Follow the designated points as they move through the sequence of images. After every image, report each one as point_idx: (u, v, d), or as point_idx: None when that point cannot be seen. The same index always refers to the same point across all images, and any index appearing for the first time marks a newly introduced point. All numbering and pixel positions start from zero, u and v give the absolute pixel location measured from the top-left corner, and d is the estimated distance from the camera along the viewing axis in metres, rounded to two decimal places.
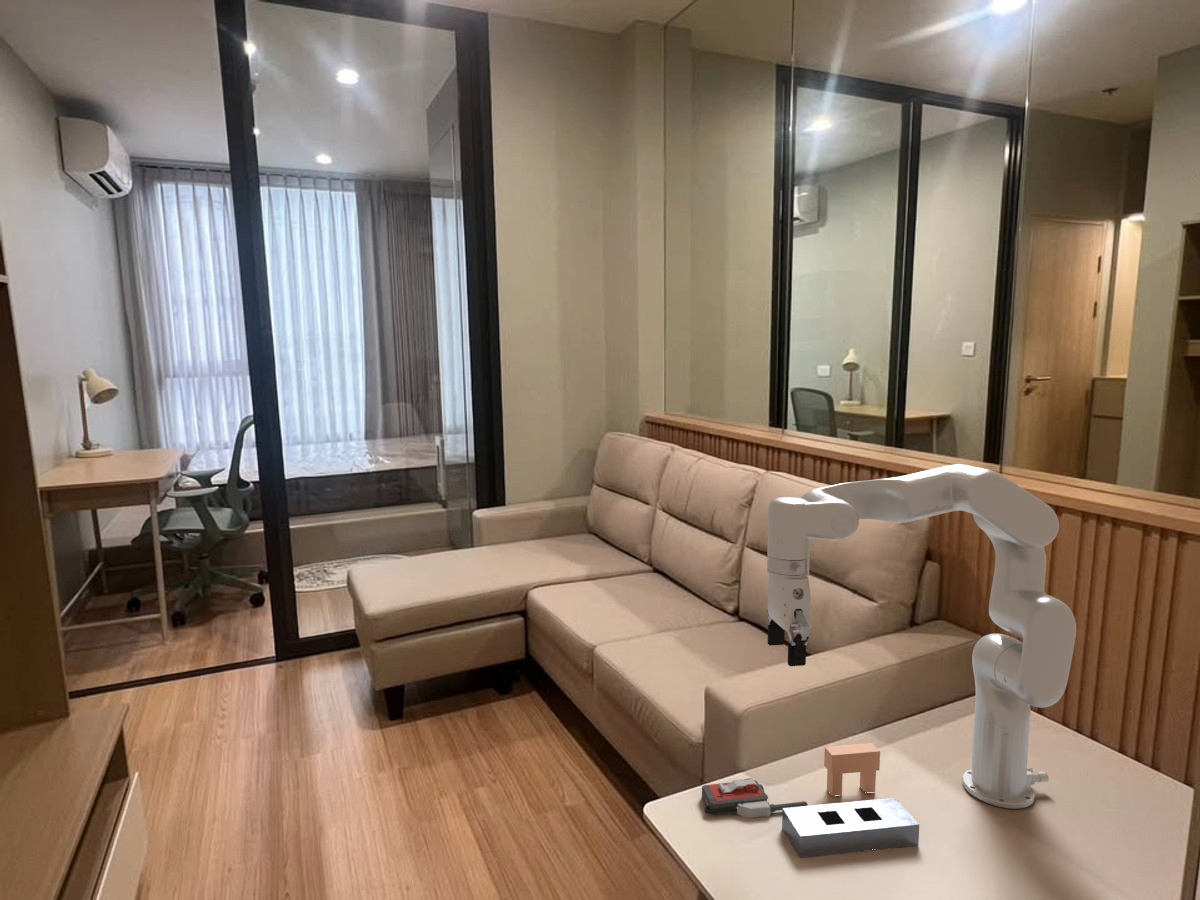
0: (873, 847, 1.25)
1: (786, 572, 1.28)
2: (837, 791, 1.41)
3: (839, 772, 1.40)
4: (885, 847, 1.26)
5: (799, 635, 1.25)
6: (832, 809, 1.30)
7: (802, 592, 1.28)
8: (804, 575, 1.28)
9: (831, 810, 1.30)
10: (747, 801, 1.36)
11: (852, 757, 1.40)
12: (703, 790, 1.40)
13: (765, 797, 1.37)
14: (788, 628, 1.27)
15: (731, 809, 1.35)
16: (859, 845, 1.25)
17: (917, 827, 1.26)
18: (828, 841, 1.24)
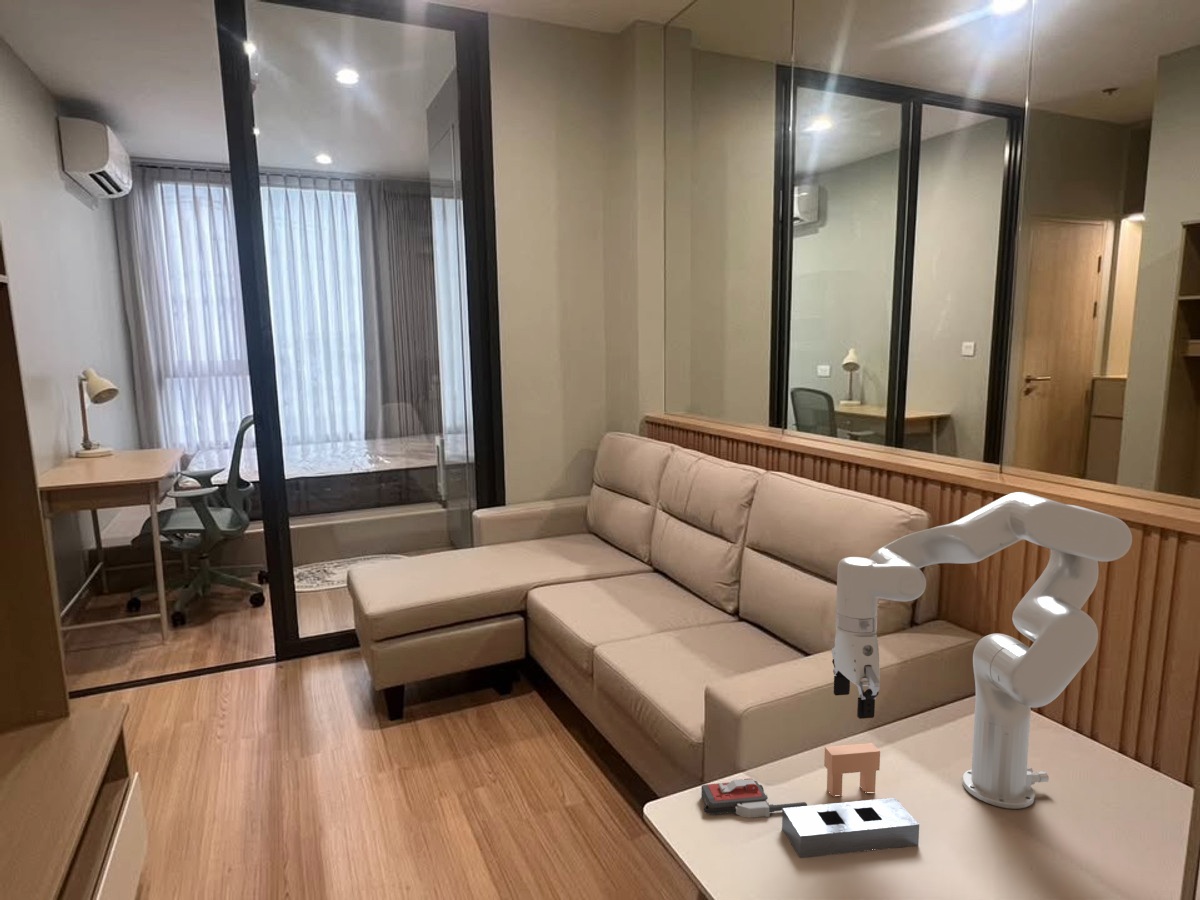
0: (873, 847, 1.25)
1: (856, 630, 1.35)
2: (837, 791, 1.41)
3: (839, 772, 1.40)
4: (885, 847, 1.26)
5: (870, 690, 1.33)
6: (832, 809, 1.30)
7: (871, 649, 1.35)
8: (873, 632, 1.36)
9: (831, 810, 1.30)
10: (746, 801, 1.36)
11: (852, 757, 1.40)
12: (703, 789, 1.40)
13: (764, 797, 1.37)
14: (858, 683, 1.35)
15: (730, 809, 1.36)
16: (859, 845, 1.25)
17: (917, 827, 1.26)
18: (828, 841, 1.24)
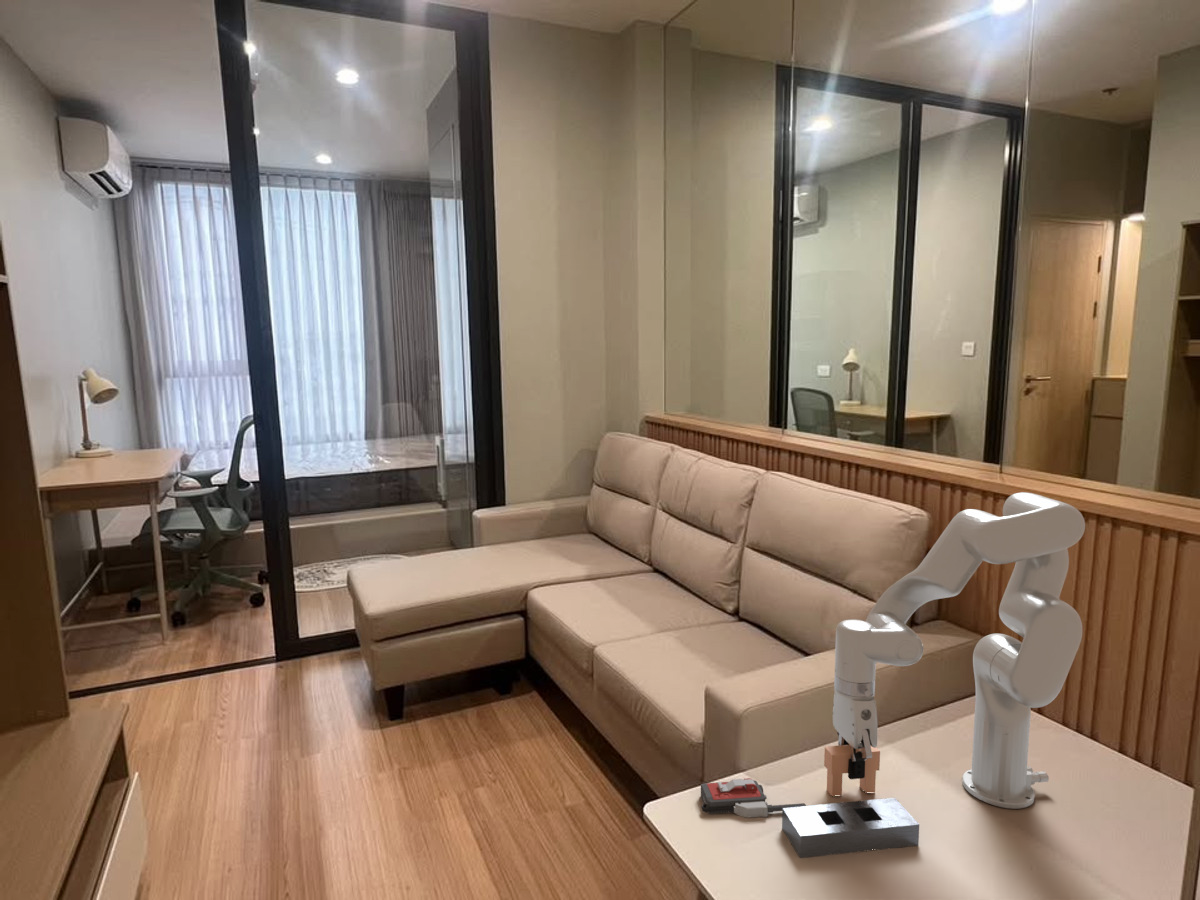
0: (873, 847, 1.25)
1: (854, 694, 1.37)
2: (837, 791, 1.41)
3: (839, 772, 1.40)
4: (885, 847, 1.26)
5: (860, 753, 1.37)
6: (832, 809, 1.30)
7: (869, 712, 1.37)
8: (871, 696, 1.37)
9: (831, 810, 1.30)
10: (745, 801, 1.36)
11: None
12: (702, 788, 1.40)
13: (763, 797, 1.37)
14: (856, 746, 1.36)
15: (728, 808, 1.36)
16: (859, 845, 1.25)
17: (917, 827, 1.26)
18: (828, 841, 1.24)
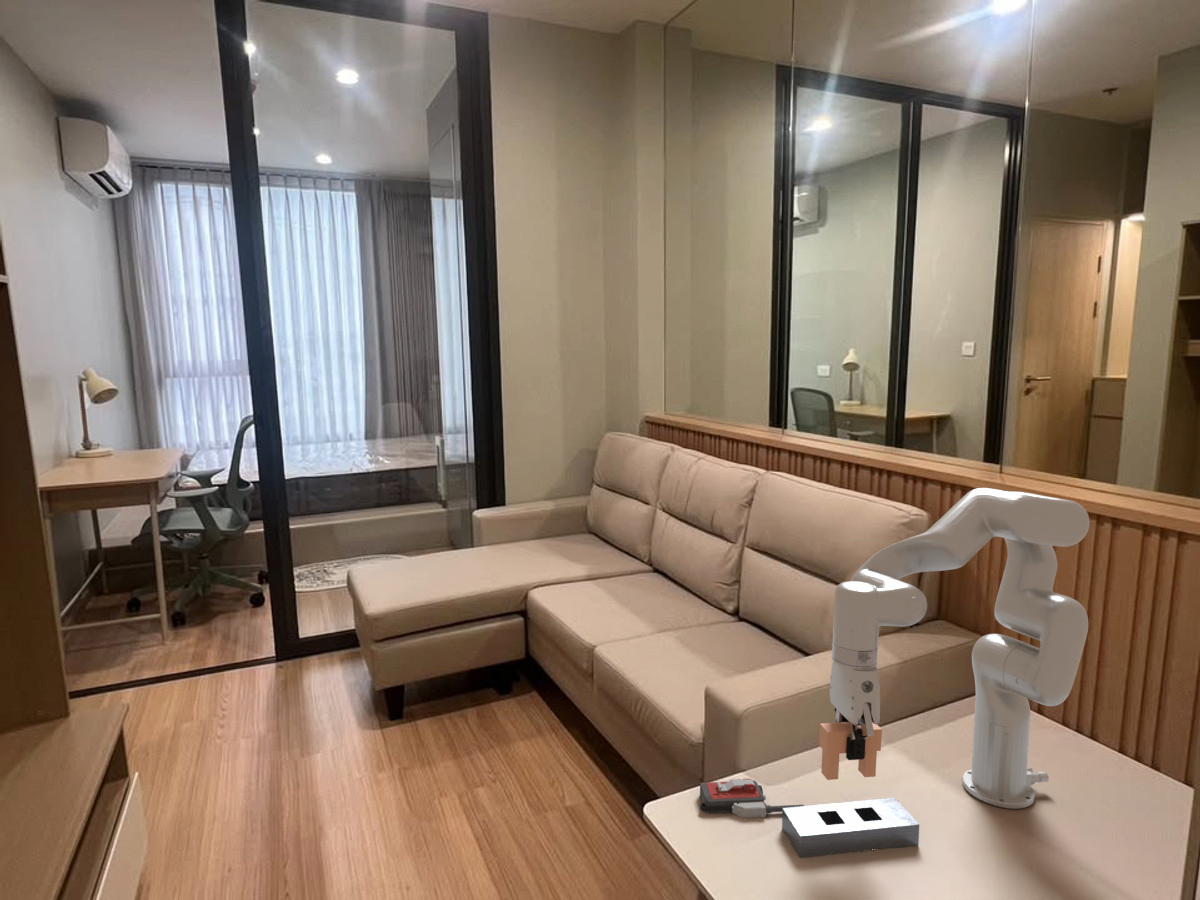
0: (873, 847, 1.25)
1: (854, 663, 1.22)
2: (833, 773, 1.26)
3: (836, 752, 1.25)
4: (885, 847, 1.26)
5: (860, 730, 1.22)
6: (832, 809, 1.30)
7: (871, 684, 1.21)
8: (873, 666, 1.22)
9: (831, 810, 1.30)
10: (743, 801, 1.36)
11: None
12: (701, 787, 1.41)
13: (762, 798, 1.37)
14: (856, 722, 1.21)
15: (726, 808, 1.36)
16: (859, 845, 1.25)
17: (917, 827, 1.26)
18: (828, 841, 1.24)
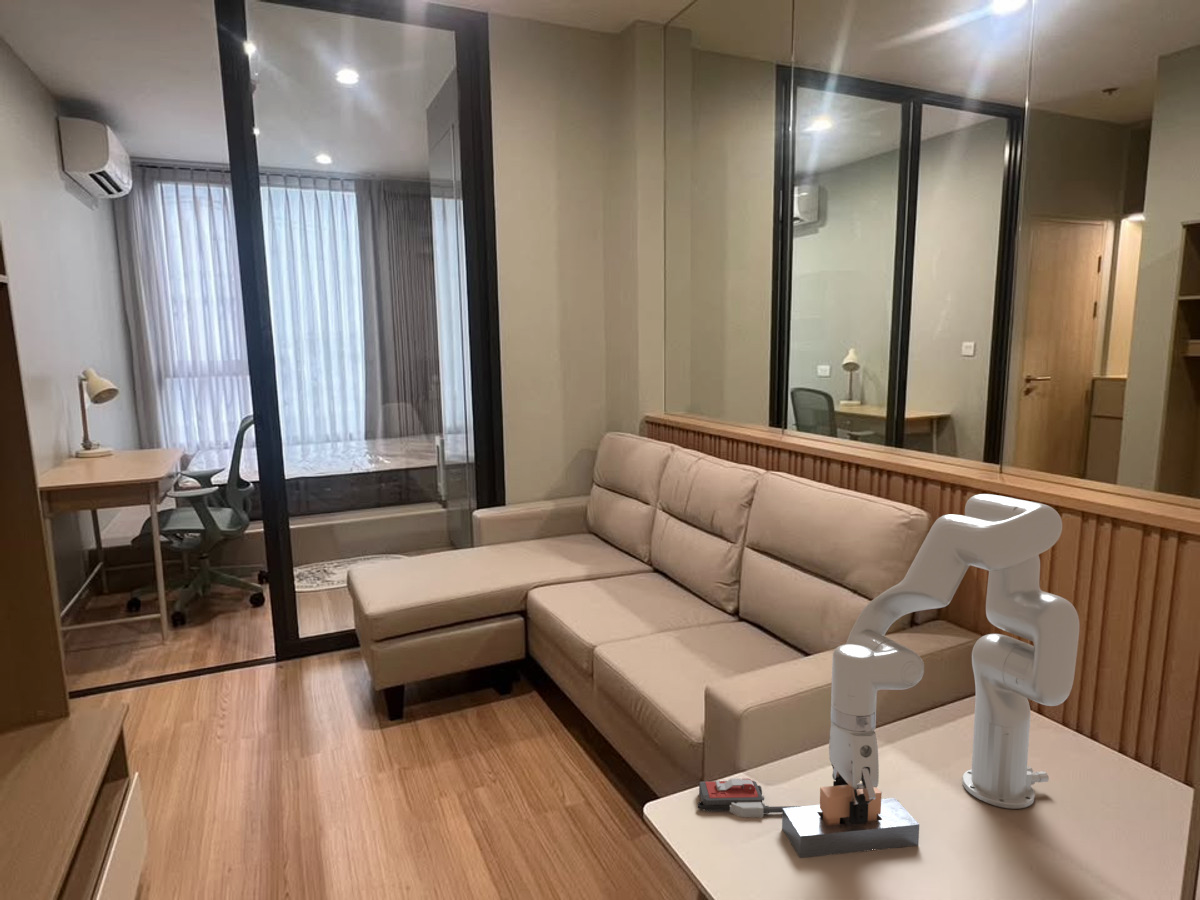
0: (873, 847, 1.25)
1: (853, 728, 1.23)
2: None
3: (836, 816, 1.26)
4: (885, 847, 1.26)
5: (862, 796, 1.22)
6: None
7: (869, 749, 1.23)
8: (871, 730, 1.23)
9: None
10: (741, 800, 1.37)
11: (850, 799, 1.26)
12: (700, 786, 1.41)
13: (760, 798, 1.37)
14: (855, 786, 1.23)
15: (724, 807, 1.36)
16: (859, 845, 1.25)
17: (917, 827, 1.26)
18: (828, 841, 1.24)
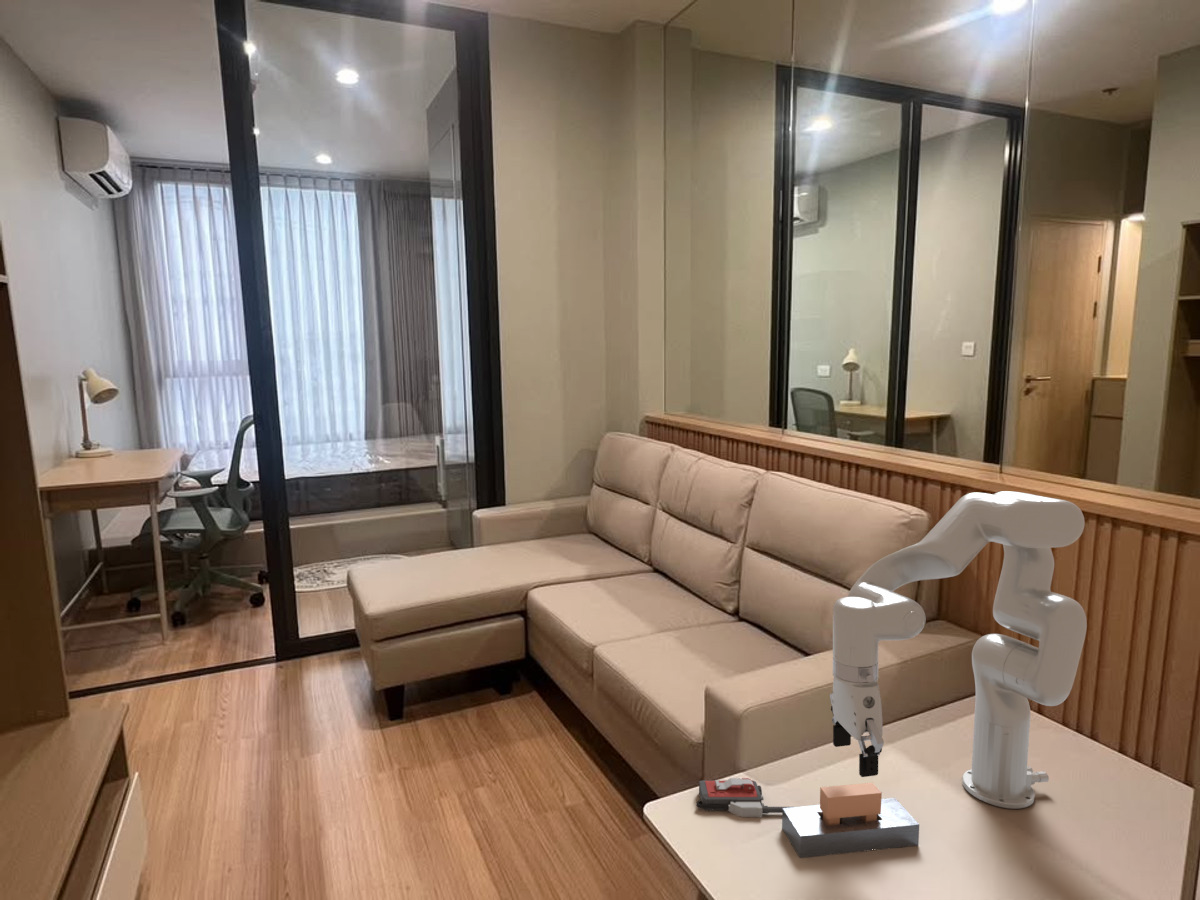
0: (873, 847, 1.25)
1: (855, 679, 1.22)
2: None
3: (836, 817, 1.26)
4: (885, 847, 1.26)
5: (872, 747, 1.19)
6: None
7: (872, 700, 1.22)
8: (874, 681, 1.23)
9: None
10: (740, 800, 1.37)
11: (850, 799, 1.26)
12: (699, 785, 1.41)
13: (759, 798, 1.37)
14: (859, 738, 1.22)
15: (723, 806, 1.36)
16: (859, 845, 1.25)
17: (917, 827, 1.26)
18: (828, 841, 1.24)
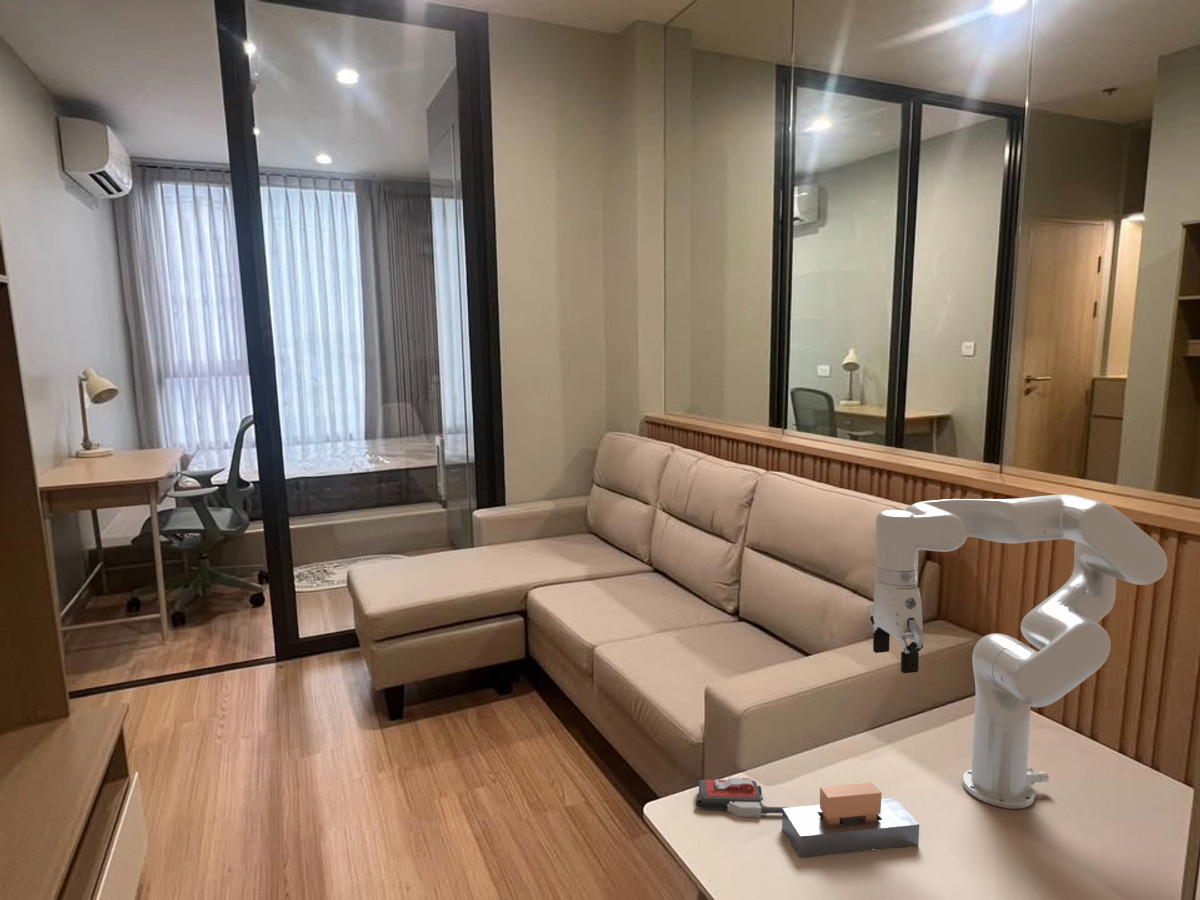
0: (873, 847, 1.25)
1: (898, 583, 1.33)
2: None
3: (836, 816, 1.26)
4: (885, 847, 1.26)
5: (914, 643, 1.30)
6: None
7: (913, 601, 1.32)
8: (914, 585, 1.33)
9: None
10: (739, 800, 1.37)
11: (850, 799, 1.26)
12: (699, 784, 1.42)
13: (759, 798, 1.37)
14: (901, 637, 1.32)
15: (722, 806, 1.36)
16: (859, 845, 1.25)
17: (917, 827, 1.26)
18: (828, 841, 1.24)
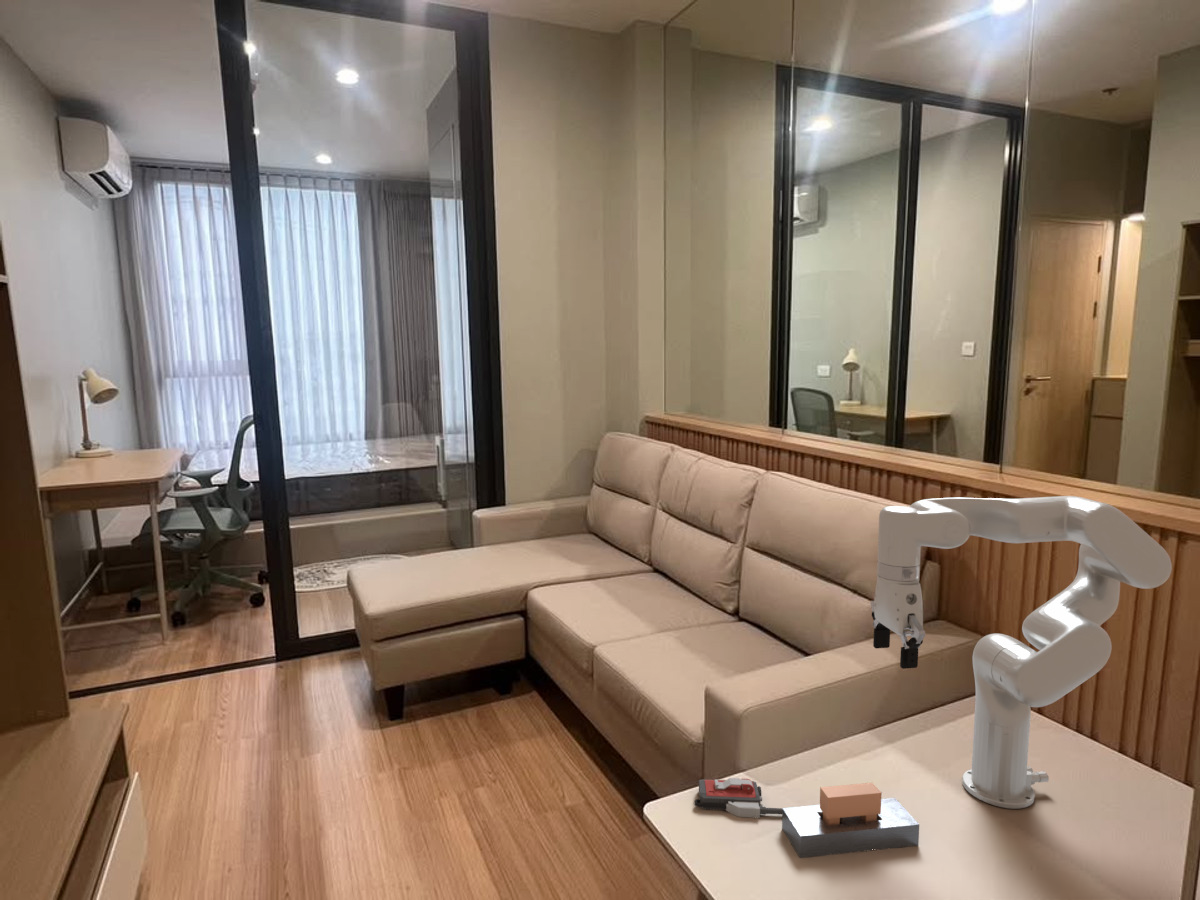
0: (873, 847, 1.25)
1: (899, 578, 1.33)
2: None
3: (836, 816, 1.26)
4: (885, 847, 1.26)
5: (914, 639, 1.30)
6: None
7: (914, 597, 1.33)
8: (916, 581, 1.34)
9: None
10: (738, 800, 1.37)
11: (850, 799, 1.26)
12: (699, 784, 1.42)
13: (758, 799, 1.37)
14: (901, 632, 1.33)
15: (720, 806, 1.37)
16: (859, 845, 1.25)
17: (917, 827, 1.26)
18: (828, 841, 1.24)
